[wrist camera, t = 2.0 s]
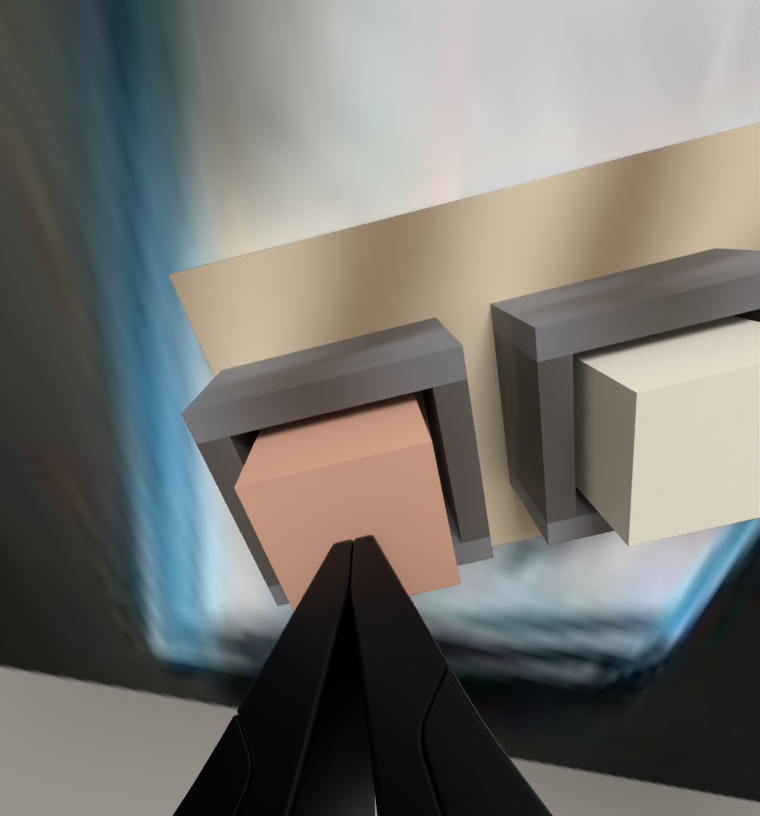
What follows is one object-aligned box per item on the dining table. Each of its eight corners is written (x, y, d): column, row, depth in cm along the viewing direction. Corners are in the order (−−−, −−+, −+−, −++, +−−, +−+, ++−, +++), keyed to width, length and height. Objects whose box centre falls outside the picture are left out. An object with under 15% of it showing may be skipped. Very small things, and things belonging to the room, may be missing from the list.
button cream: (721, 313, 10) (850, 342, 7) (702, 446, 12) (801, 508, 9) (564, 351, 10) (637, 393, 7) (568, 477, 12) (628, 546, 9)
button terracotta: (411, 387, 10) (432, 440, 8) (437, 507, 12) (460, 584, 9) (263, 423, 10) (234, 487, 8) (308, 536, 12) (297, 619, 9)
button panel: (999, 61, 11) (1364, -34, 7) (867, 437, 16) (1034, 505, 12) (186, 270, 11) (103, 291, 8) (310, 564, 16) (297, 666, 13)
